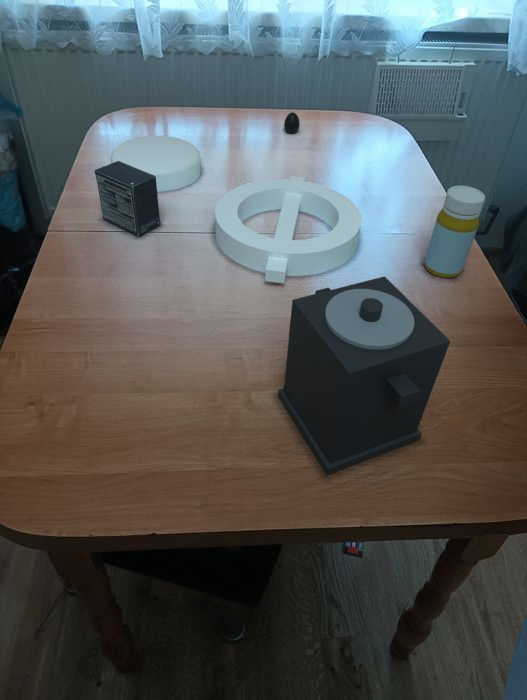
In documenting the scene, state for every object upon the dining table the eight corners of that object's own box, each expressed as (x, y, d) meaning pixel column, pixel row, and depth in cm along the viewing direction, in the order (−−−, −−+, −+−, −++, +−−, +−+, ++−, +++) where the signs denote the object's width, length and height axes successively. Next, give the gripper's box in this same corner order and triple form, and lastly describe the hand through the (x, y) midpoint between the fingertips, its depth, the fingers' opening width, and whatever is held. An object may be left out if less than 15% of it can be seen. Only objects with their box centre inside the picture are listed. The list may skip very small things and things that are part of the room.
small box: (163, 224, 107) (158, 174, 100) (139, 238, 104) (132, 187, 96) (126, 207, 112) (118, 158, 105) (101, 219, 108) (92, 169, 101)
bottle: (415, 266, 100) (436, 192, 90) (437, 253, 104) (460, 180, 93) (447, 284, 97) (472, 208, 86) (468, 270, 100) (496, 196, 90)
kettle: (436, 450, 70) (486, 338, 56) (335, 490, 65) (363, 378, 51) (357, 353, 83) (381, 242, 69) (268, 380, 78) (275, 267, 64)
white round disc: (124, 151, 132) (121, 131, 128) (205, 155, 131) (205, 136, 128) (103, 189, 117) (99, 169, 114) (195, 194, 117) (194, 174, 114)
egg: (297, 135, 143) (299, 116, 139) (282, 133, 143) (283, 114, 140) (299, 129, 146) (301, 110, 142) (284, 128, 146) (286, 109, 143)
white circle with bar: (297, 188, 121) (298, 167, 118) (387, 246, 105) (392, 224, 102) (188, 223, 108) (187, 201, 105) (272, 294, 92) (274, 271, 89)
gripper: (686, 292, 71) (554, 338, 63) (605, 241, 79) (480, 276, 72) (722, 243, 66) (582, 286, 58) (631, 195, 74) (499, 227, 67)
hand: (526, 281), depth 65 cm, fingers closed
